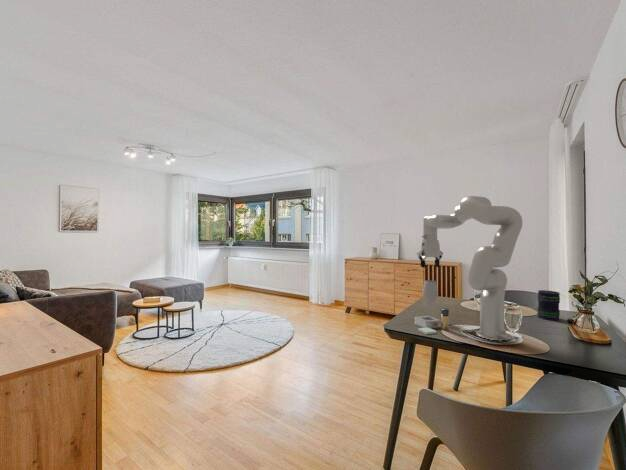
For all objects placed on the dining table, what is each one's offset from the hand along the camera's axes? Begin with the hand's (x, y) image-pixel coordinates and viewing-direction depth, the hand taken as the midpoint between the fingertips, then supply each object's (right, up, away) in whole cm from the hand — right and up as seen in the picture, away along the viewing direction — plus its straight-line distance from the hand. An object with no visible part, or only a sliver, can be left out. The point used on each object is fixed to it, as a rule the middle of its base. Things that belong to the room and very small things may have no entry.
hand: (430, 267), depth 175 cm
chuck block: (-9, -28, -18) cm, 34 cm away
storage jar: (+65, -29, -4) cm, 71 cm away
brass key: (-3, -28, -25) cm, 38 cm away
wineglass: (-3, -28, -8) cm, 29 cm away
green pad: (-13, -28, -29) cm, 43 cm away
